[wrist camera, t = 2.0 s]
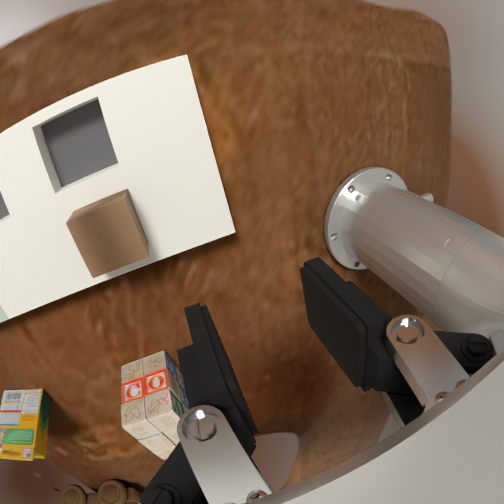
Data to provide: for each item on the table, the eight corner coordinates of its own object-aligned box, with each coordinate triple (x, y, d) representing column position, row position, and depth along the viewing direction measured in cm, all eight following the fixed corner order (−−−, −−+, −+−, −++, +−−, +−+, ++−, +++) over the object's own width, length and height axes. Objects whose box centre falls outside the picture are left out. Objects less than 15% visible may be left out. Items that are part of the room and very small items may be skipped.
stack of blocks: (119, 364, 34) (122, 451, 23) (164, 347, 34) (180, 435, 24) (190, 441, 44) (207, 504, 34) (224, 429, 45) (247, 491, 35)
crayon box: (13, 403, 31) (2, 468, 21) (3, 389, 29) (-12, 456, 20) (52, 401, 33) (45, 471, 23) (43, 387, 31) (32, 460, 21)
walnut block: (127, 188, 23) (124, 198, 21) (148, 241, 26) (148, 256, 23) (74, 210, 23) (65, 222, 20) (97, 261, 25) (93, 278, 23)
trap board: (183, 59, 22) (186, 54, 20) (228, 223, 30) (235, 232, 28) (-79, 197, 17) (-91, 204, 15) (-17, 319, 25) (-24, 332, 23)
